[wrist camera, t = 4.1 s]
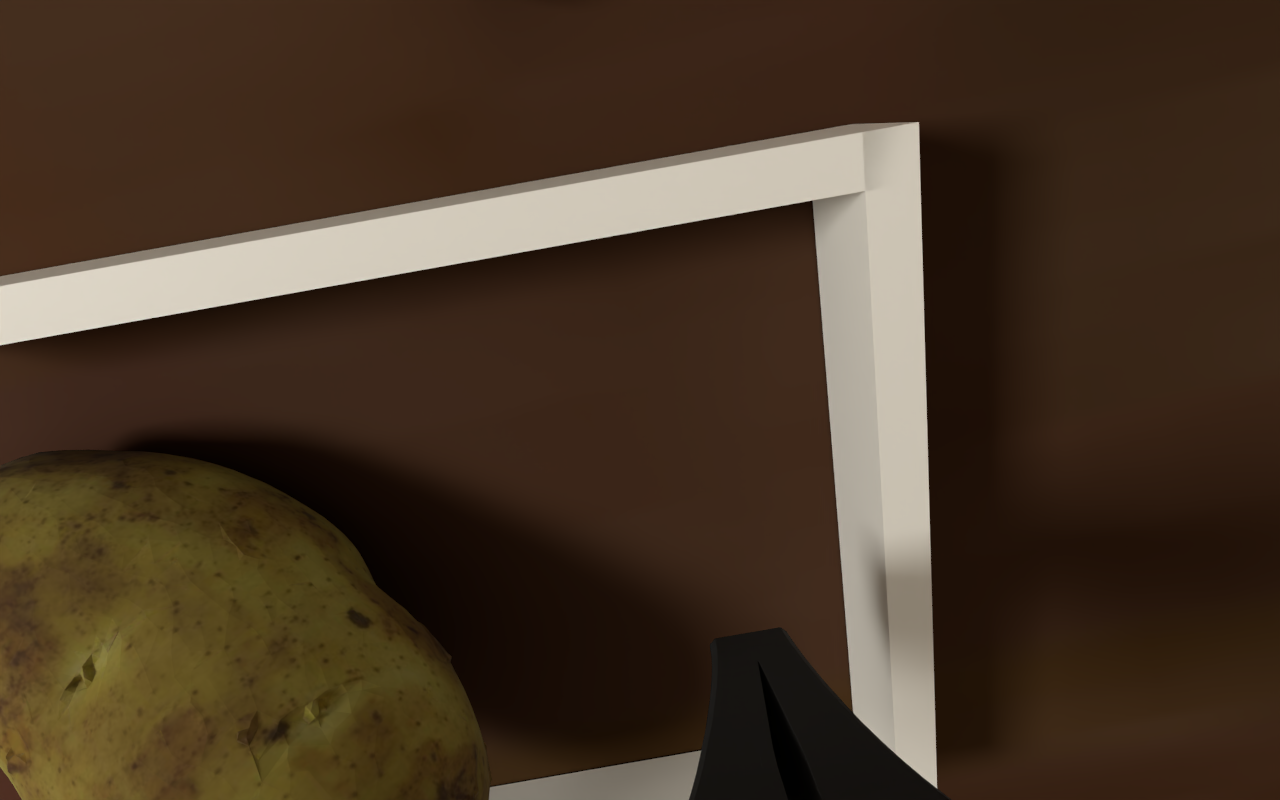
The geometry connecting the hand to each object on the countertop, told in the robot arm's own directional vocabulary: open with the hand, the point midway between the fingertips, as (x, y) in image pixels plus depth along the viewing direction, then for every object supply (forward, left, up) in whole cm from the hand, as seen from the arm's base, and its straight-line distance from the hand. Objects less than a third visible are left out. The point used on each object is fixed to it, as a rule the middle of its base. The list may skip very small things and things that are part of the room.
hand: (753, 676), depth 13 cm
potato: (0, +11, -6) cm, 13 cm away
